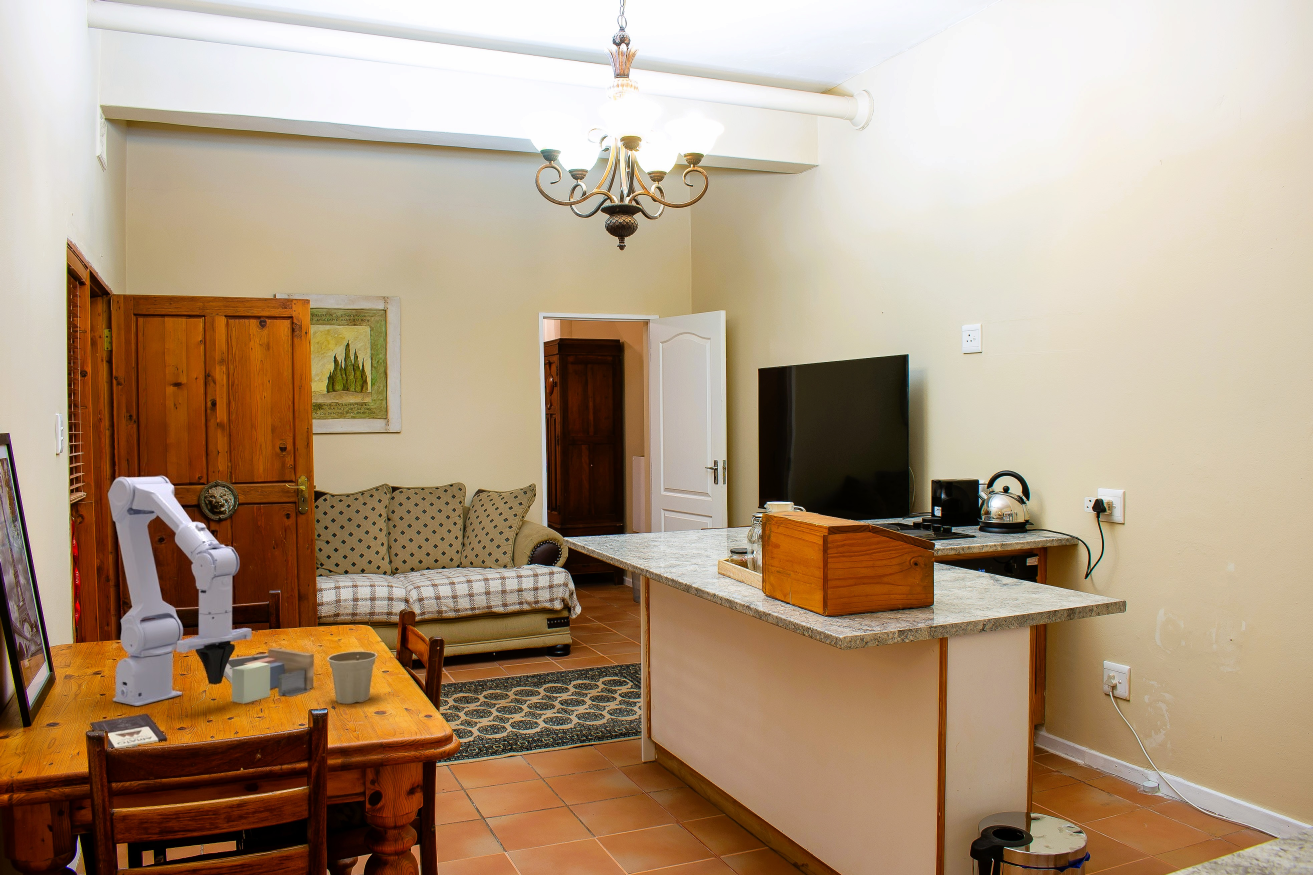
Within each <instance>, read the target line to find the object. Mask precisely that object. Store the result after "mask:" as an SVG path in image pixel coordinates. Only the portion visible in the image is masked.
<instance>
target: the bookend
mask: <svg viewBox="0 0 1313 875" xmlns="http://www.w3.org/2000/svg"><path fill="white" fill-rule="evenodd" d="M277 688H278V689H277V691H278V692H277V694H278V696H281V697H282V696H287V697H290V698H292V697H295V696H297V695H301V694H305V693H309V692H311V691H312V688H311V689H306V670H305V669H301V670H297V671H293V672H289V673H286V674H282V675H278V687H277ZM308 691H309V692H308Z"/></svg>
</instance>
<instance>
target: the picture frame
mask: <svg viewBox="0 0 1313 875" xmlns="http://www.w3.org/2000/svg"><path fill="white" fill-rule="evenodd" d="M264 658H268V653H266V654H265V653H264V654H255V655H248V656H246V655H245V656H239V657H233V658H232V657H230V659H229V661H228V663H227V665H226V668H225V671H224V675H223V677H225V679H226V680H227V681H228V680H229V681H230V682H229V681H228V682H229V683H230V684H231V685H232V668H235V667H239V666H244V663H247V662H252V661H256V660H260V659H264Z"/></svg>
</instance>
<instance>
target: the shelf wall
mask: <svg viewBox="0 0 1313 875" xmlns="http://www.w3.org/2000/svg"><path fill="white" fill-rule="evenodd" d="M267 651H268V652H267V654H268V658H274V659H276V662H278V663H284V674H286V673H289V672H293V671H297V670H301V669H305V670H306V689H310V688H311V689H313V688H314V677H315V676H314V675H315V674H314V672H315V671H314V669H315V668H314V664H315V663H314V661H315V658H314V655H315V654H314V653H311V652H305V651H299V650H298V651H297V650H291V649H283V648H277V647H272V648H268V650H267Z"/></svg>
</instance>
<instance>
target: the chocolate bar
mask: <svg viewBox="0 0 1313 875" xmlns="http://www.w3.org/2000/svg"><path fill="white" fill-rule="evenodd" d="M89 725H91V726H92V728H93V729H92V728H91V729H92V731H93V730H106V731H107V732H108V736H109V740H108V748H111V749H113V748H126V747H131V748H135V747H136V746H137V747H139V746H138V744H147V743H154V742H159V743H163V742H162V741H165V742H168V737H167V736H166V735H165V733H164V732H163V731H162V729H160V727H159V726H158V724H156V723H155V721H154V720H153V719H152V717H150V715H149V714H148V713H142V714H138V715H137V714H136V715H135V714H134V715H130V716H124V717H117V718H111V719H106V720H100V721H99V720H98V721H93V722H90V723H89ZM91 726H90V727H91ZM160 741H161V742H160ZM154 744H155V743H154ZM141 746H144V745H141ZM141 746H140V747H141ZM126 749H127V748H126Z"/></svg>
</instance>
